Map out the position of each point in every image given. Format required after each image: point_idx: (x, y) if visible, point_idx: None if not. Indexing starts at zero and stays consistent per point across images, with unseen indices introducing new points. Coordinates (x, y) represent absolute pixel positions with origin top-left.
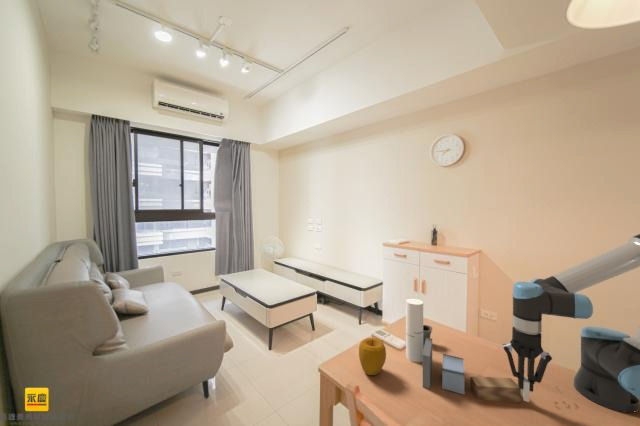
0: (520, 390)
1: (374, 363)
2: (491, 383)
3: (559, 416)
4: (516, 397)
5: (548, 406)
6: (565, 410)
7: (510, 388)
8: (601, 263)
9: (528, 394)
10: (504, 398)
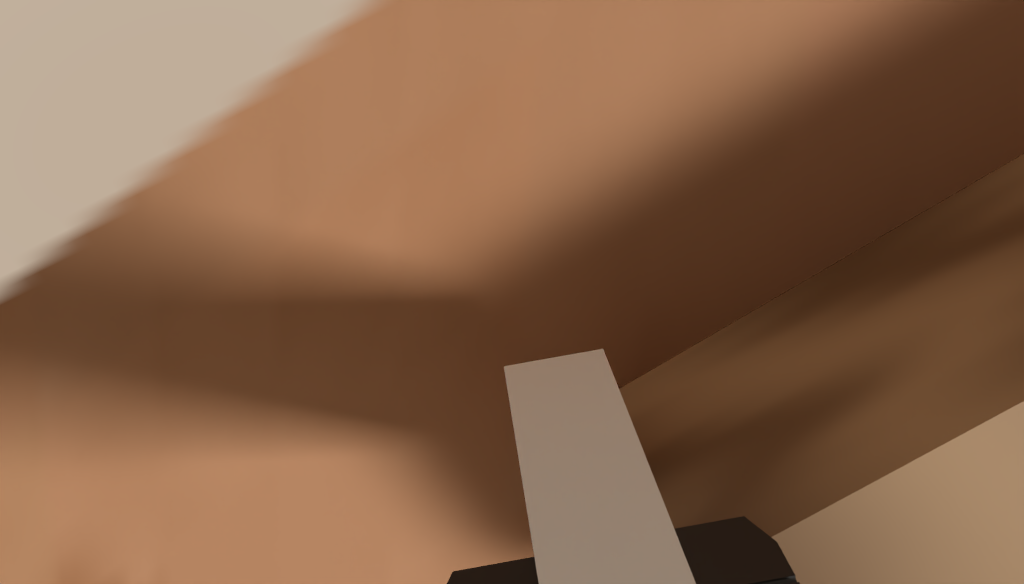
0: None
1: None
2: None
3: (40, 385)
4: (710, 391)
5: (208, 541)
6: None
7: (927, 429)
8: None
9: (539, 460)
10: (916, 250)
